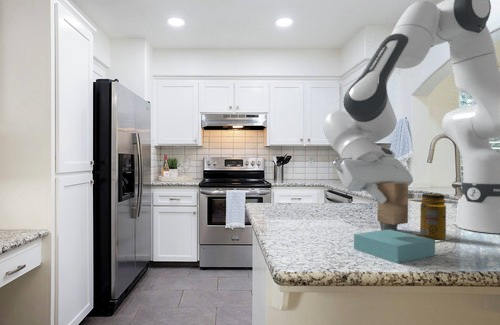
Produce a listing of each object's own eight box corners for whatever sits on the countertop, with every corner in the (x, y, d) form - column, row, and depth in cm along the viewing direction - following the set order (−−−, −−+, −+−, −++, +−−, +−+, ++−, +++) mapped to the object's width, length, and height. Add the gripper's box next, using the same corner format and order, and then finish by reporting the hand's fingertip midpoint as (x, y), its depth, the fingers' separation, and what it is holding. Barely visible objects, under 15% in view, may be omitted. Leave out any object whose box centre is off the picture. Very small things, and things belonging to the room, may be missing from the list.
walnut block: (390, 219, 75) (391, 182, 75) (407, 223, 71) (408, 183, 71) (377, 221, 73) (377, 182, 73) (394, 224, 69) (394, 183, 69)
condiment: (452, 238, 85) (452, 194, 85) (436, 243, 81) (436, 196, 81) (425, 233, 92) (425, 192, 92) (409, 237, 87) (409, 193, 87)
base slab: (389, 243, 80) (389, 229, 80) (434, 255, 70) (434, 239, 70) (353, 248, 75) (353, 234, 75) (397, 263, 64) (397, 246, 64)
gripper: (337, 148, 74) (369, 194, 65) (397, 150, 83) (432, 191, 74) (324, 167, 78) (353, 212, 69) (382, 167, 87) (415, 207, 78)
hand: (394, 201), depth 72 cm, fingers closed on walnut block, 4 cm apart
